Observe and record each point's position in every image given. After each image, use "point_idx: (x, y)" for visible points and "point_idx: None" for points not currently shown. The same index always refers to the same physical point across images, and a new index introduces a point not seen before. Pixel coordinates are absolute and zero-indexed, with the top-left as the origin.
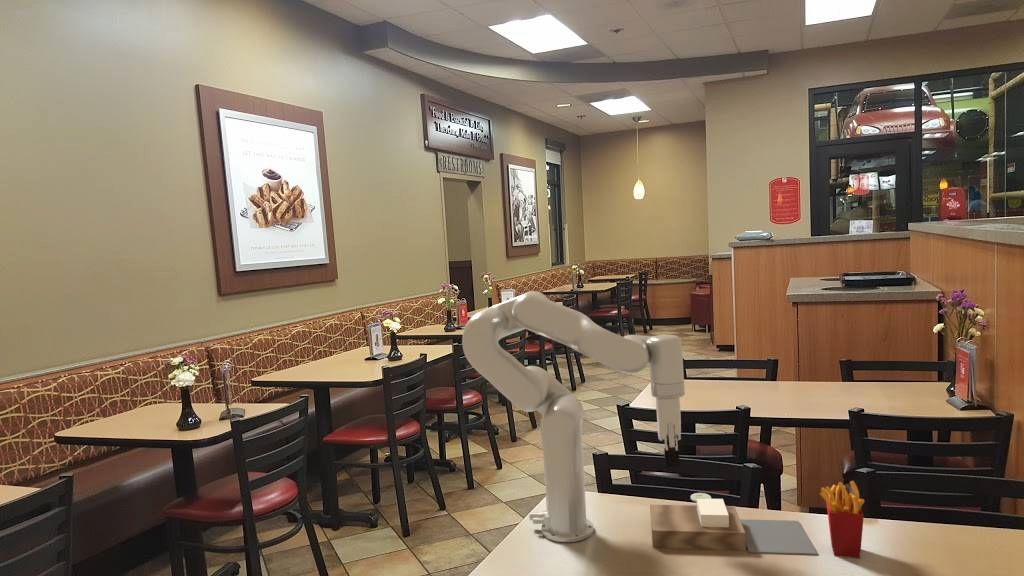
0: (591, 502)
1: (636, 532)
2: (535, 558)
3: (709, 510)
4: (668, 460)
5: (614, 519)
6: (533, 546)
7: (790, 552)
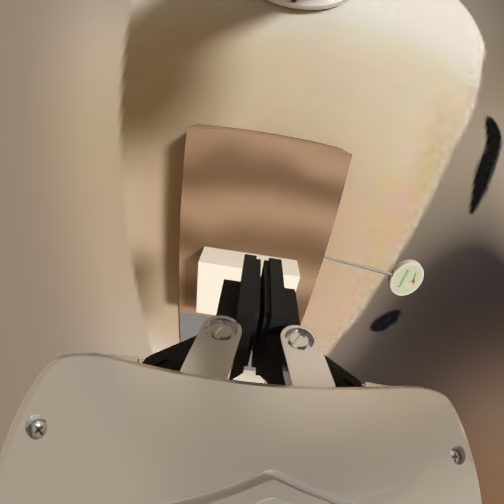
0: (442, 53)
1: (279, 99)
2: None
3: (222, 285)
4: (239, 285)
5: (356, 66)
6: None
7: (181, 338)
